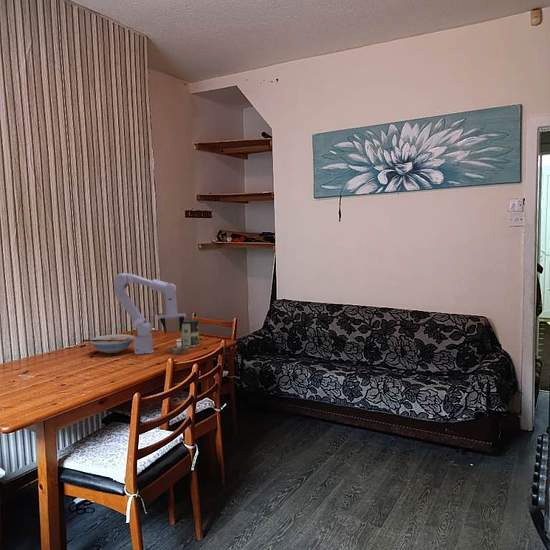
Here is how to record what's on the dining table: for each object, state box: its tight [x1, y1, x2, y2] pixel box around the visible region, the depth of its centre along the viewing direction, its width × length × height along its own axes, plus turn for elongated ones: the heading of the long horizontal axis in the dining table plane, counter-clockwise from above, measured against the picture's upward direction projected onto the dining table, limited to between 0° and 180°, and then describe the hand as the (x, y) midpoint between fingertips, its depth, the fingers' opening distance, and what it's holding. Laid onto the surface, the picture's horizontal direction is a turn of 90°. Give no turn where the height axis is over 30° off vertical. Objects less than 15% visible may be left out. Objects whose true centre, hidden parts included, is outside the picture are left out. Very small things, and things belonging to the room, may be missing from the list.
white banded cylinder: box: [175, 338, 181, 348], centre depth 257 cm, size 2×2×7 cm
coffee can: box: [180, 318, 200, 348], centre depth 273 cm, size 10×10×14 cm
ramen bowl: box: [81, 333, 135, 355], centre depth 262 cm, size 25×23×8 cm
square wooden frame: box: [168, 345, 190, 356], centre depth 257 cm, size 8×8×3 cm
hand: (172, 331), depth 260 cm, fingers open, 7 cm apart
